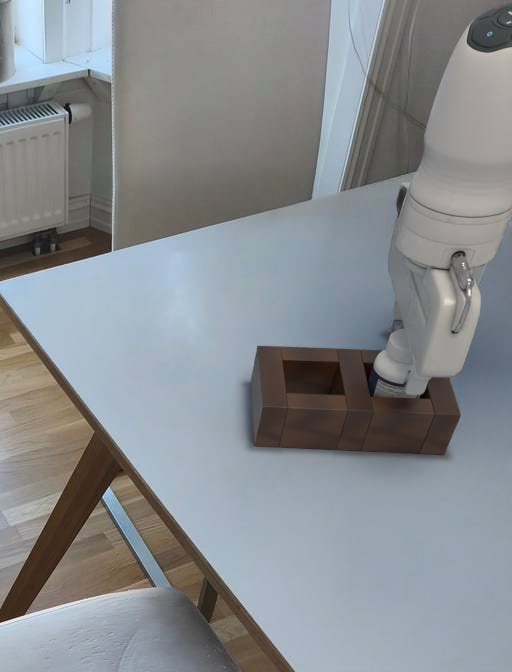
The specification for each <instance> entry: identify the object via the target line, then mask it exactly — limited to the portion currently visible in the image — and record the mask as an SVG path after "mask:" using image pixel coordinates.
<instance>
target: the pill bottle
mask: <svg viewBox="0 0 512 672" xmlns="http://www.w3.org/2000/svg"><path fill="white" fill-rule="evenodd" d="M382 350H383V351H382V352H380V353H379V354H378V355H377V357H376V359H375V362H374V365H373V368H372V371H371V374H370V378H369V381H368V388H369V392H370V397H394V398H418V399H419V397H420V395H408V394H407V393H406V392H405V387H404V383H403V382H404V380H405V376H406V373H407V370H412V368H413V366H414V363H413V357H412V353H411V350H410V346H409V343H408V339H407V336H406V332H405V329H399V330H396V331H394V332H393V333H392V334H391V335H390V334H389V338H388V340H387V343H386V348H385V349H382Z"/></svg>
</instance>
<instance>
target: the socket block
mask: <svg viewBox="0 0 512 672" xmlns="http://www.w3.org/2000/svg"><path fill="white" fill-rule="evenodd" d="M383 350H384V349H361V348H359V349H358V348H337V347H336V348H334V347H333V348H332V347H308V346H307V347H306V346H279V345H257V346H256V351H255V356H254V361H253V366H252V372H251V376H250V382H249V390H250V391H249V392H250V402H251V403H250V405H251V416H252V417H251V418H252V432H253V442H254V444H253V445H254V447H265V448H266V447H268V448H289V449H290V448H292V449H311V450H312V449H315V450H335V451H336V450H337V451H357V452H358V451H360V452H361V451H362V452H379V453H380V452H382V453H399V454H400V453H402V454H422V455H441V456H442V455H443V456H444V455H445V454H446V451H447V449H448V447H449V444H450V442H451V440H452V438H453V435H454V433H455V431H456V428H457V425H458V424H459V421H460V420H461V419H460V418H461V416H462V413H461V411H460V407H459V404H458V401H457V398H456V395H455V391H454V388H453V384H452V382H451V379H450V378H451V377H448V378H443V377H432V378H431V379H430V380H429V381H428V384H427V386H426V389H425V392H424V393H423V394H421V395H420V397H419V399H418V398H394V397H370V392H369V388H368V381H369V378H370V374H371V371H372V368H373V365H374V362H375V359H376V357H377V355H378V354H379V353H380V352H382V351H383Z"/></svg>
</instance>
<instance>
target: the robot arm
mask: <svg viewBox="0 0 512 672" xmlns="http://www.w3.org/2000/svg"><path fill="white" fill-rule="evenodd" d="M442 74H443V75H442V77H441V80H440V83H439V86H438V88H437V92H436V94H435V97H434V100H433V103H432V107H431V109H430V114H429V116H428V120H427V123H426V127H425V131H424V135H423V153H422V158H421V161H420V163H419V166H418V168H417V169H416V171H415V173H414V174H413V176H412V178H411V181H402V182H401V183H400V185H399V188H398V191H397V194H396V199H395V206H396V207H395V208H396V212H397V214H396V219H395V222H394V226H393V231H392V235H391V241H390V246H389V250H388V256H387V257H388V258H387V272H388V275H389V278H390V283H391V285H392V289H393V292H394V299H393V308H392V319H391V322H390V325H389V331H390V334H392V333H393V332H394V331H396V330H399V329H405V332H406V336H407V339H408V343H409V346H410V350H411V353H412V357H413V363H414V366H413V368H412V370H407V373H406V376H405V380H404V382H403V383H404V387H405V392H406V393H407V394H408V395H421V394H423V393H424V392H425V389H426V386H427V384H428V381H429V380H430V379H431V378H432V377H443V378H448V377H449V378H454V377H456V376H457V375H458V374H459V373H460V372H461V371H462V369H463V368H464V365H465V362H466V359H467V357H468V353H469V351H470V347H471V345H472V341H473V339H474V335H475V332H476V329H477V326H478V322H479V319H480V314H481V308H482V297H481V292H480V290H479V287H478V286H477V284H476V281H475V279H474V276H473V274H472V272H473V271H474V270H475V267H479V266H481V265H484V264H486V263H488V264H489V262H491V261H492V260H494V258H495V256H496V255H497V253H498V250H499V248H500V246H501V242H502V240H503V237H504V234H505V233H506V229H507V226H508V224H509V222H510V219H511V216H512V2H507V3H503V4H499V5H498V6H495V7H492V8H490V9H488V10H486V11H484V12H482V13H481V14H479V15H477V16H476V17H474V18H473V20H471V22H470V23H468V25H467V26H466V28H465V30H464V31H463V33H462V35H461V36H460V38H459V40H458V42H457V43H456V45H455V47H454V49H453V51H452V53H451V56H450V57H449V60H448V62H447V65H446V67H445V69H444V72H443V73H442ZM389 331H388V332H389ZM390 334H389V335H390Z"/></svg>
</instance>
